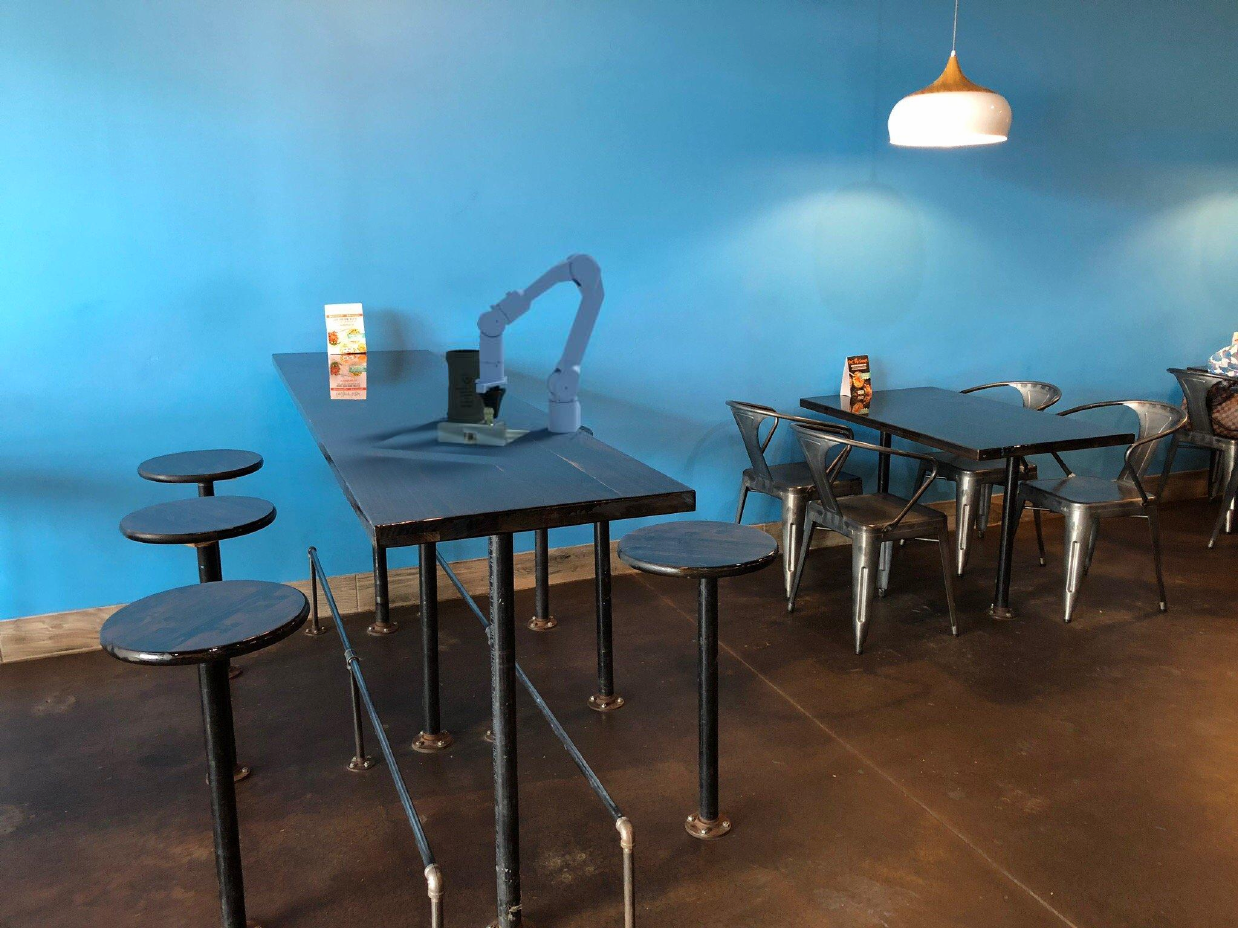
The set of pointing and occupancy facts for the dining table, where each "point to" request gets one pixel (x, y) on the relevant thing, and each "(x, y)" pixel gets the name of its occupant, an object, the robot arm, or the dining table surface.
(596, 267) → the robot arm
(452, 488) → the dining table surface
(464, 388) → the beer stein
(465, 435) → the door board
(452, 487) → the dining table surface
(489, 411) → the bolt
